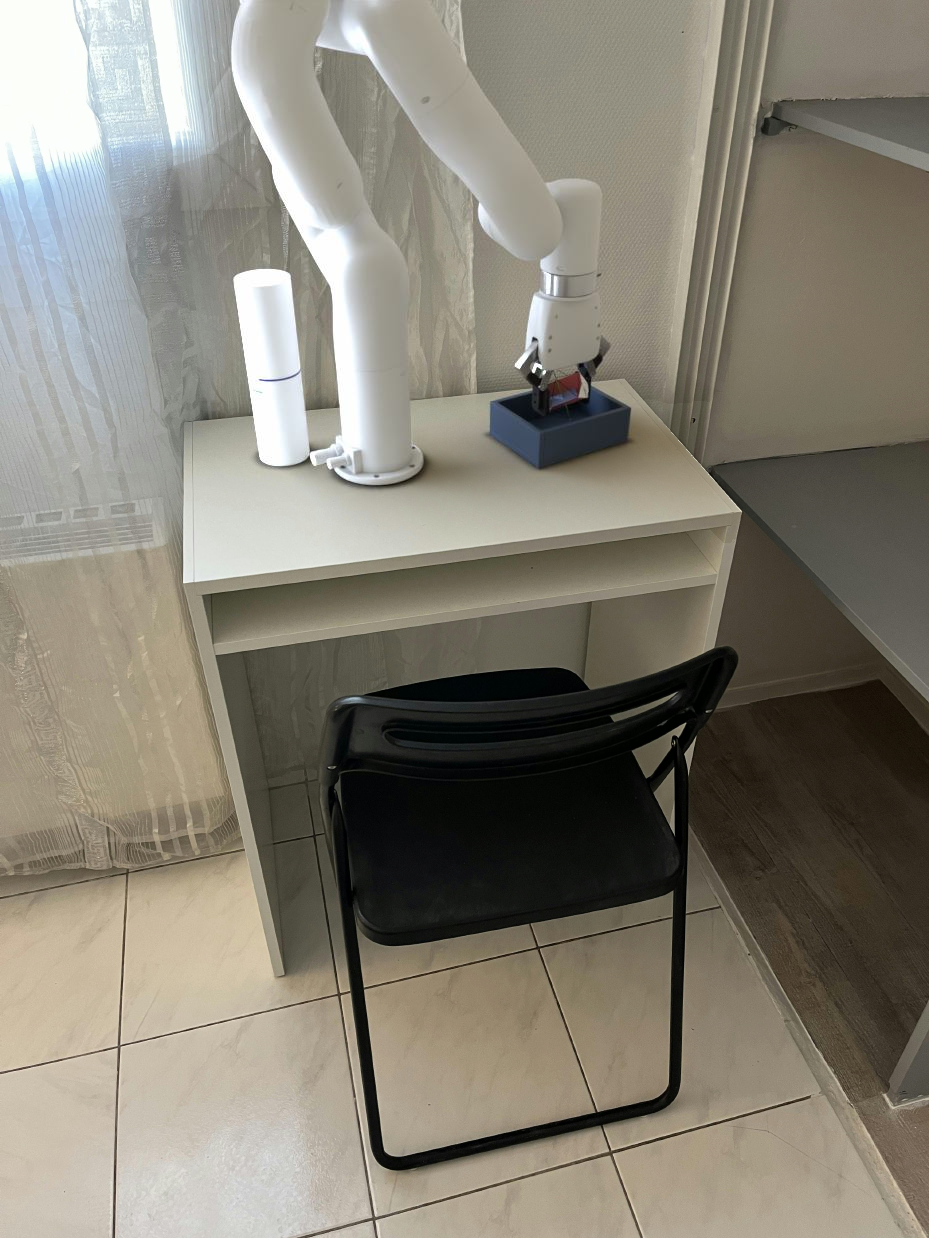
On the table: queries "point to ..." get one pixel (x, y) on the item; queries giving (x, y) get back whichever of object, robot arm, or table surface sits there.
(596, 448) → the bin
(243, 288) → the cylindrical container
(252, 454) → the table surface
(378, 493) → the table surface
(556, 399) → the geometric puzzle
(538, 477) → the table surface
